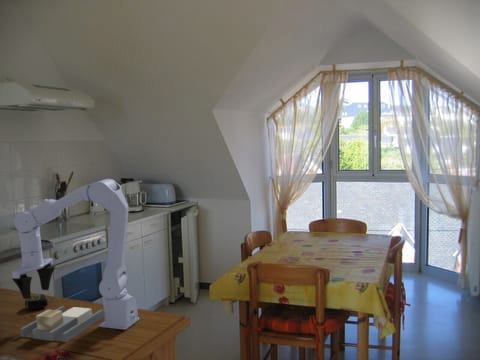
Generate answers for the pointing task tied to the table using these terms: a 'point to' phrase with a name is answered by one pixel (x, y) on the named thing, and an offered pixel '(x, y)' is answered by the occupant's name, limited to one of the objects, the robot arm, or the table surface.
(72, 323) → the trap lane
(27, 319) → the table surface
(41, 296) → the tape measure
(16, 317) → the table surface
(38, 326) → the maple block
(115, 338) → the table surface
